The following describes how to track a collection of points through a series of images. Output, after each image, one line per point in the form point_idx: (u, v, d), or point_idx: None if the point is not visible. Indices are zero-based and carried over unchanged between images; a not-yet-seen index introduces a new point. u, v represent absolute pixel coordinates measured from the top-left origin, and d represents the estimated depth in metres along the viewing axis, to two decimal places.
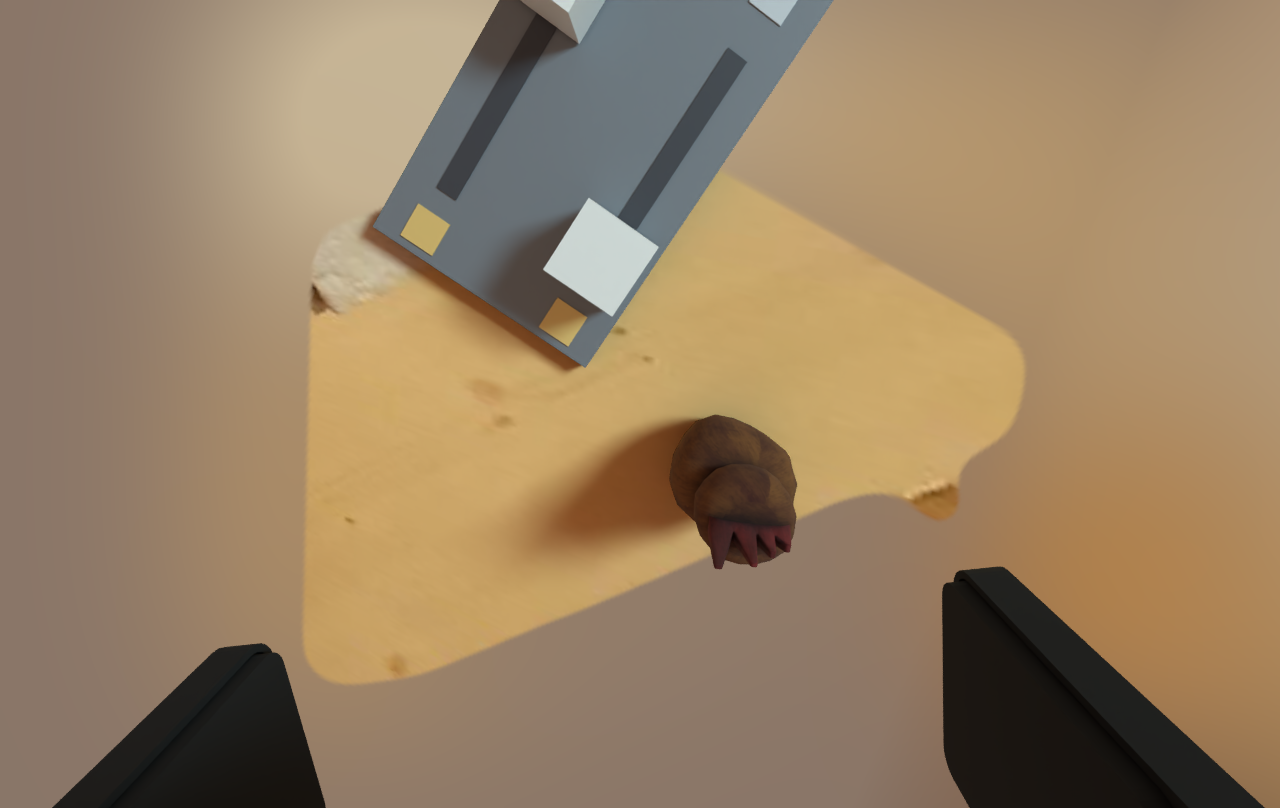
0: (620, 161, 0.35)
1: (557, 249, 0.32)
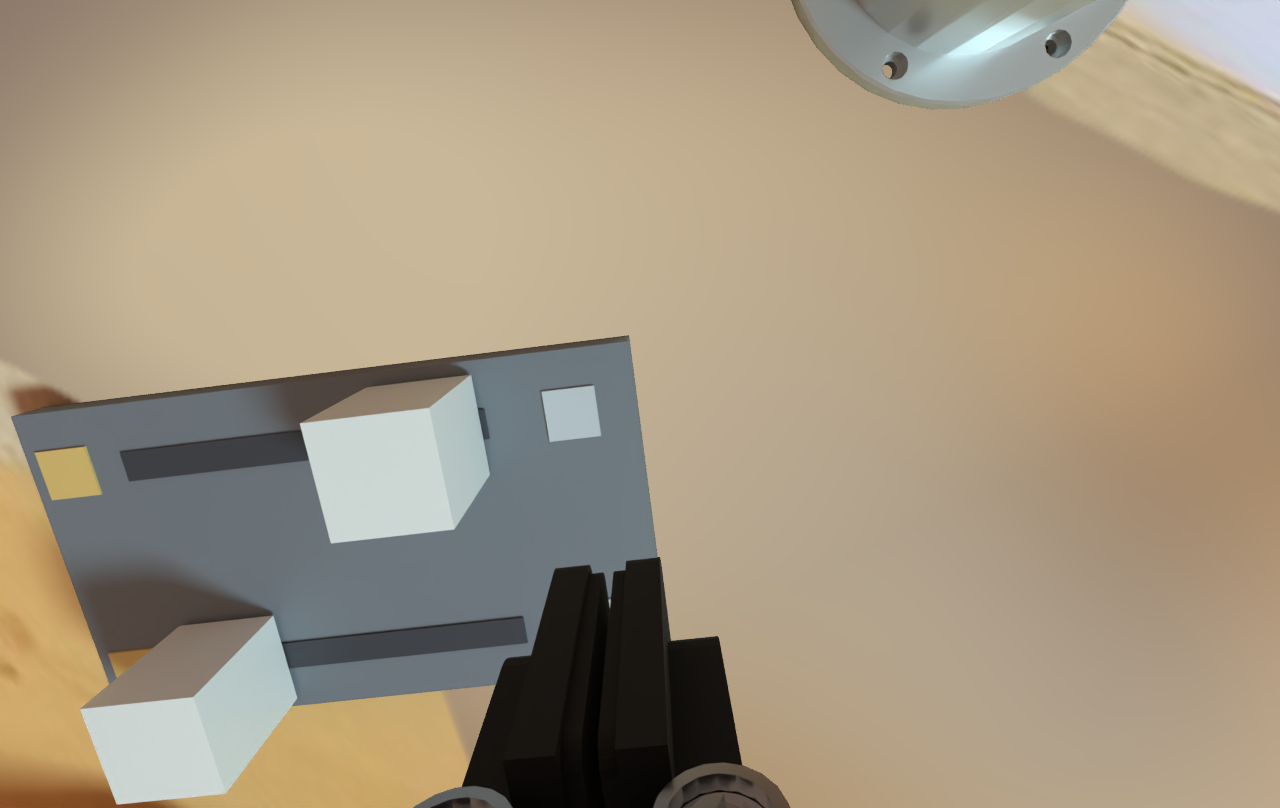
0: (333, 603, 0.27)
1: (114, 707, 0.23)
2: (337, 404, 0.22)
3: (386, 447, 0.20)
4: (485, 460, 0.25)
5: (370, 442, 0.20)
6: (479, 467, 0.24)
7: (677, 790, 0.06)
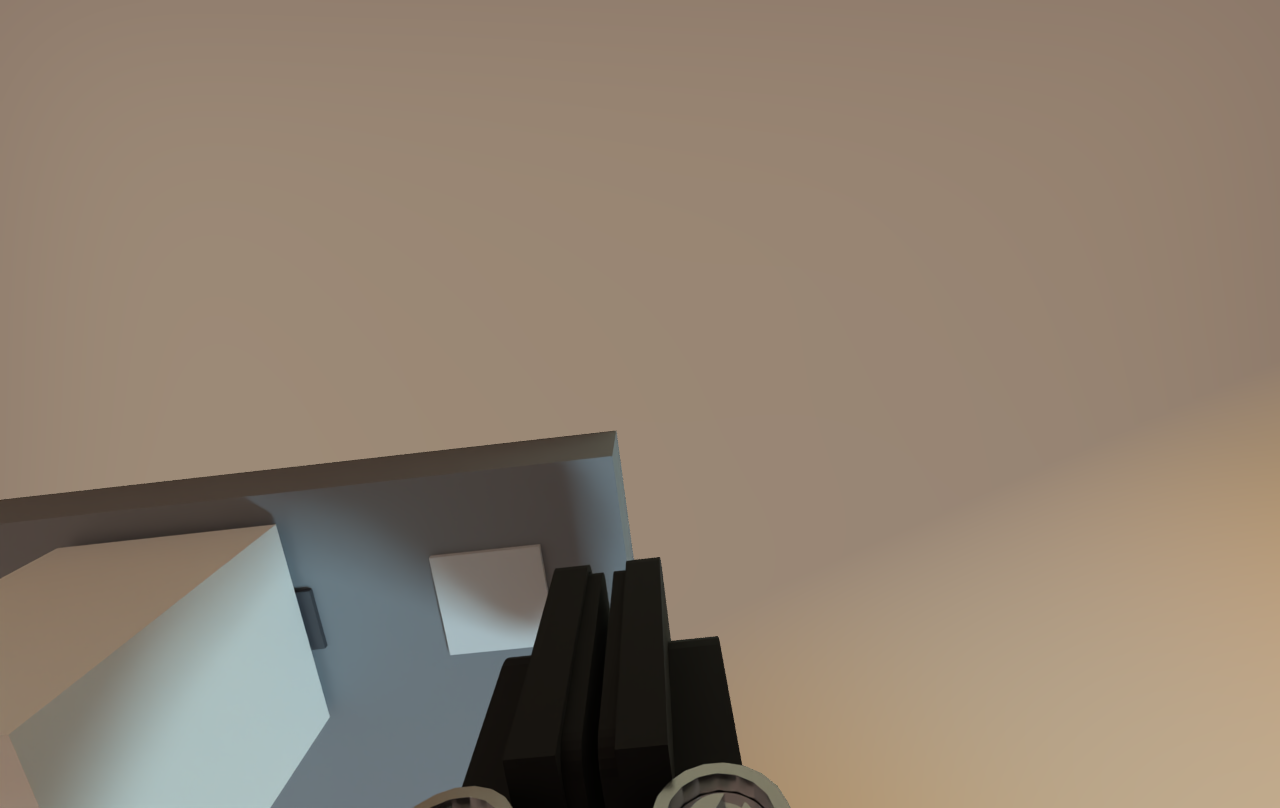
0: None
1: None
2: None
3: None
4: (314, 696, 0.12)
5: None
6: (288, 730, 0.11)
7: (677, 790, 0.06)
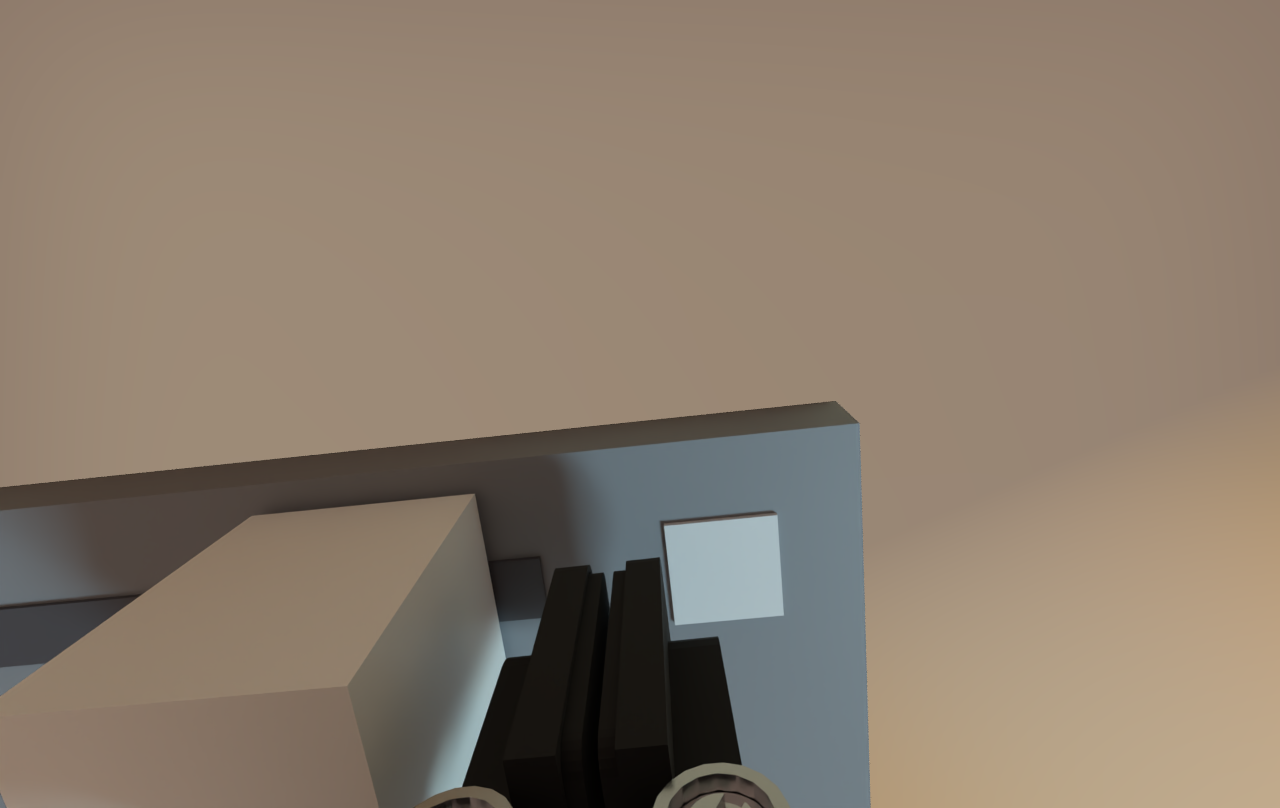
0: None
1: None
2: (144, 597, 0.09)
3: (229, 785, 0.07)
4: None
5: (178, 770, 0.07)
6: (490, 700, 0.11)
7: (677, 790, 0.06)
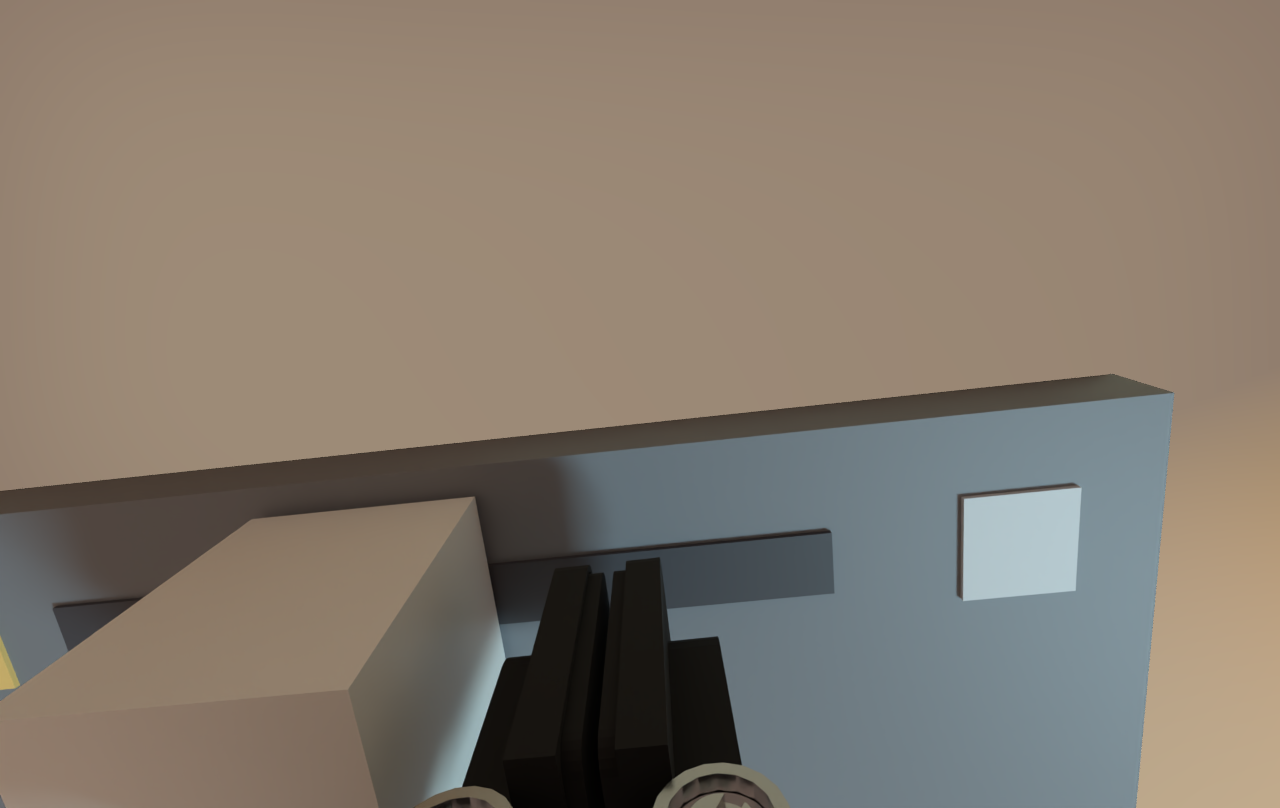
0: None
1: None
2: (145, 600, 0.09)
3: (228, 789, 0.07)
4: None
5: (179, 774, 0.07)
6: None
7: (677, 790, 0.06)
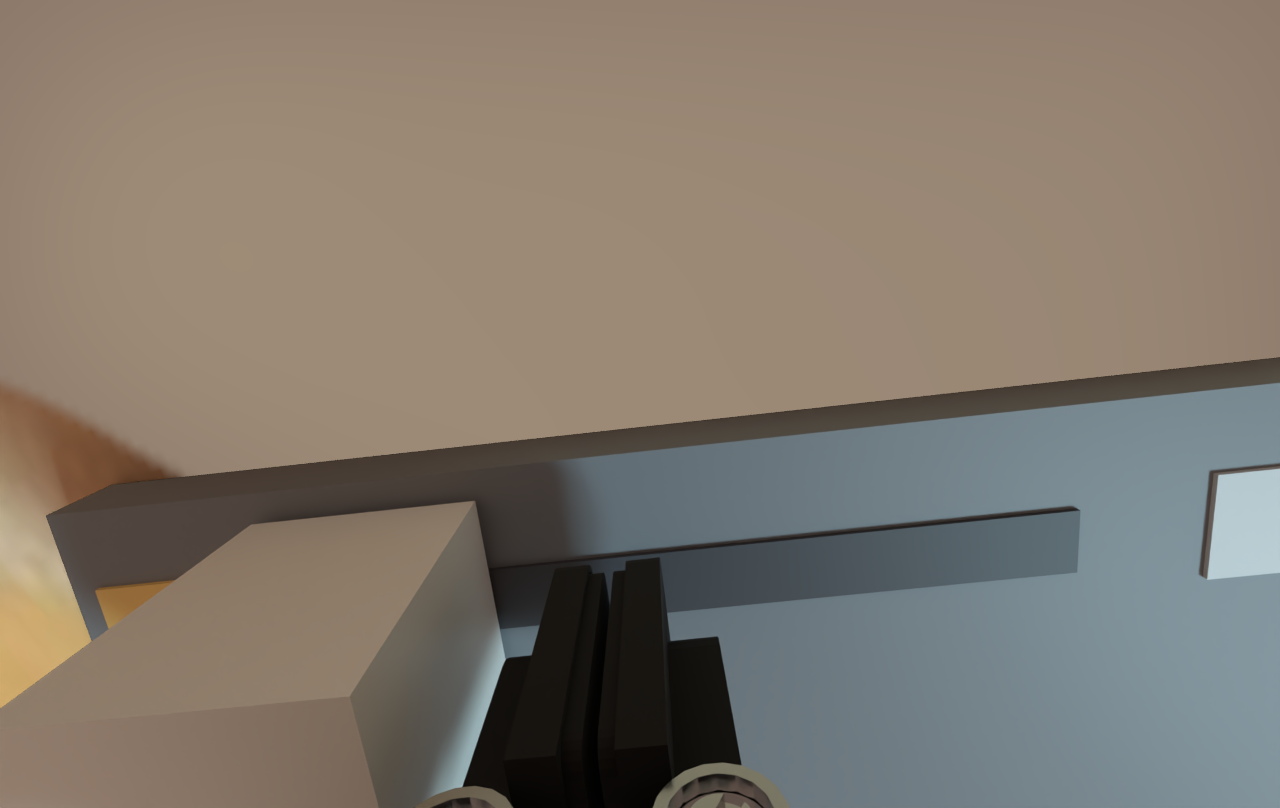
0: None
1: None
2: (144, 607, 0.09)
3: (230, 796, 0.07)
4: None
5: (179, 783, 0.07)
6: None
7: (677, 791, 0.06)
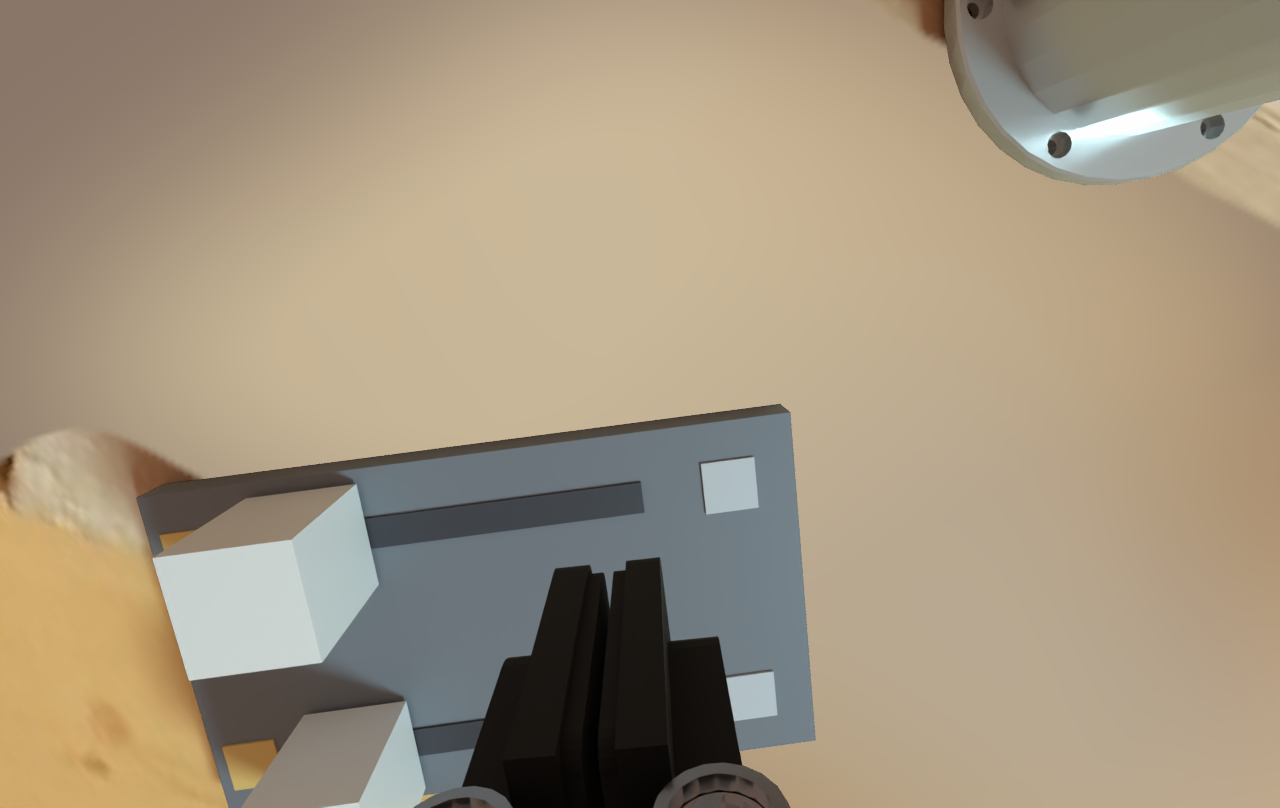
0: (470, 685, 0.26)
1: None
2: (204, 526, 0.21)
3: (247, 580, 0.19)
4: (372, 571, 0.24)
5: (228, 575, 0.19)
6: (363, 581, 0.23)
7: (677, 790, 0.06)
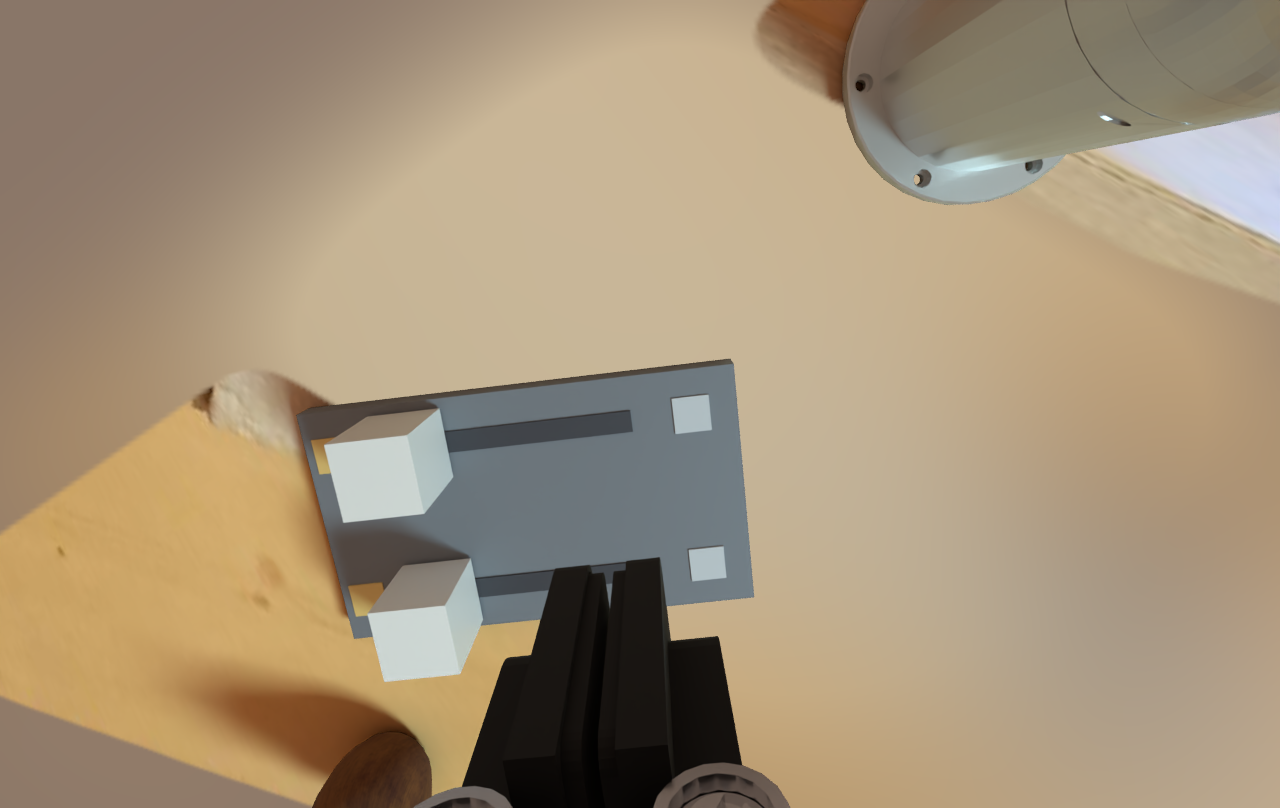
0: (513, 549, 0.38)
1: (390, 612, 0.33)
2: (347, 430, 0.33)
3: (380, 460, 0.31)
4: (449, 467, 0.36)
5: (369, 456, 0.31)
6: (444, 472, 0.35)
7: (677, 790, 0.06)
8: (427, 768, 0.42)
